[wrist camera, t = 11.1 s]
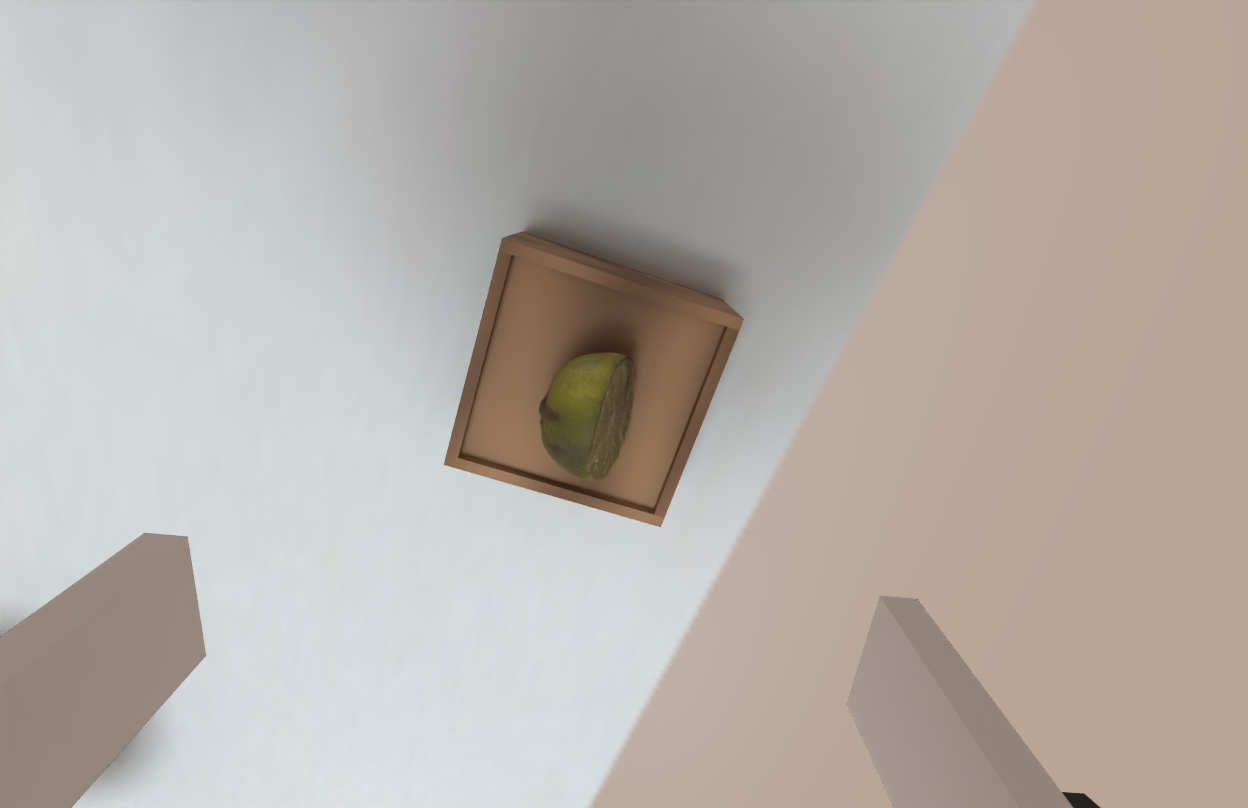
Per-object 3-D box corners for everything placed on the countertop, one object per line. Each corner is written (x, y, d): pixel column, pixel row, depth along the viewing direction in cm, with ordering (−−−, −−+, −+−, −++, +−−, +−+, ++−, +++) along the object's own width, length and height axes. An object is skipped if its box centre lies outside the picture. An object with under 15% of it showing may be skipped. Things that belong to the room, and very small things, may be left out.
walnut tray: (472, 420, 31) (443, 464, 26) (523, 231, 28) (502, 237, 23) (653, 474, 32) (660, 527, 27) (720, 298, 29) (743, 319, 24)
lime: (618, 325, 24) (620, 355, 20) (667, 424, 26) (679, 474, 21) (523, 371, 25) (502, 411, 20) (575, 465, 26) (568, 523, 22)
